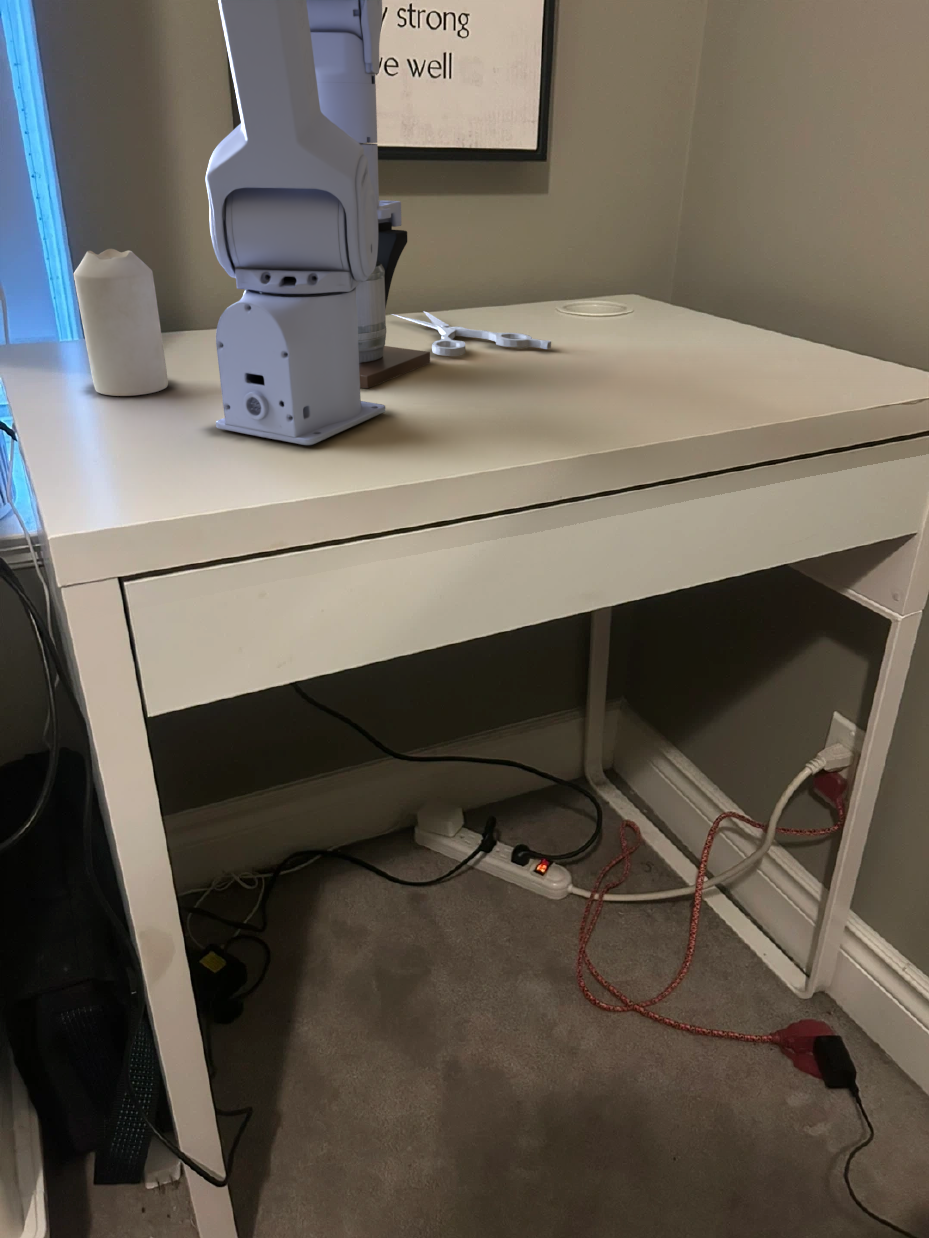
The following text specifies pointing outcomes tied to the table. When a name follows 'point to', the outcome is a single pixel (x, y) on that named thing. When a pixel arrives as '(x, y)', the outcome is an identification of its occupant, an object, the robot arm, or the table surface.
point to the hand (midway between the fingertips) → (348, 327)
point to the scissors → (458, 347)
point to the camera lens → (371, 315)
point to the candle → (121, 323)
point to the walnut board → (391, 365)
